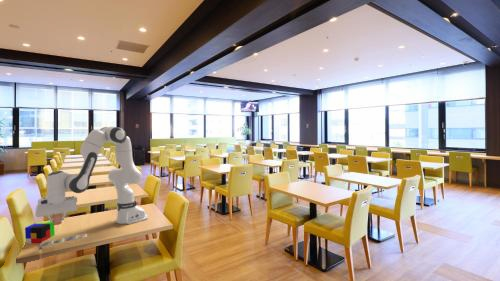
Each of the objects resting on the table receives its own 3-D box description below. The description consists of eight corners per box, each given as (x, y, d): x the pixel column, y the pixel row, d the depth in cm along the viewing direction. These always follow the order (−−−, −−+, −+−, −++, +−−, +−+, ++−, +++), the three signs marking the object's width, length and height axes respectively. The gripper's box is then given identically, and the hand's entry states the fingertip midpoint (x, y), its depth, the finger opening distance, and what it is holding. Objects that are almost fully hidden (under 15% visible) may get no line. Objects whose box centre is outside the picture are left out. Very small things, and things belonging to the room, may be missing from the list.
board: (87, 234, 173) (87, 232, 173) (89, 238, 167) (89, 236, 167) (38, 245, 157) (38, 242, 157) (38, 250, 151) (38, 247, 151)
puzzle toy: (25, 243, 159) (25, 227, 159) (39, 236, 169) (38, 221, 169) (42, 244, 159) (41, 227, 158) (54, 237, 169) (54, 221, 168)
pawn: (61, 222, 162) (61, 208, 162) (61, 224, 159) (60, 210, 158) (53, 223, 160) (53, 210, 160) (53, 225, 157) (52, 211, 156)
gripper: (76, 194, 167) (77, 216, 168) (35, 200, 155) (36, 223, 155) (77, 196, 163) (78, 218, 163) (34, 202, 150) (35, 226, 151)
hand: (57, 221), depth 159 cm, fingers closed on pawn, 4 cm apart
